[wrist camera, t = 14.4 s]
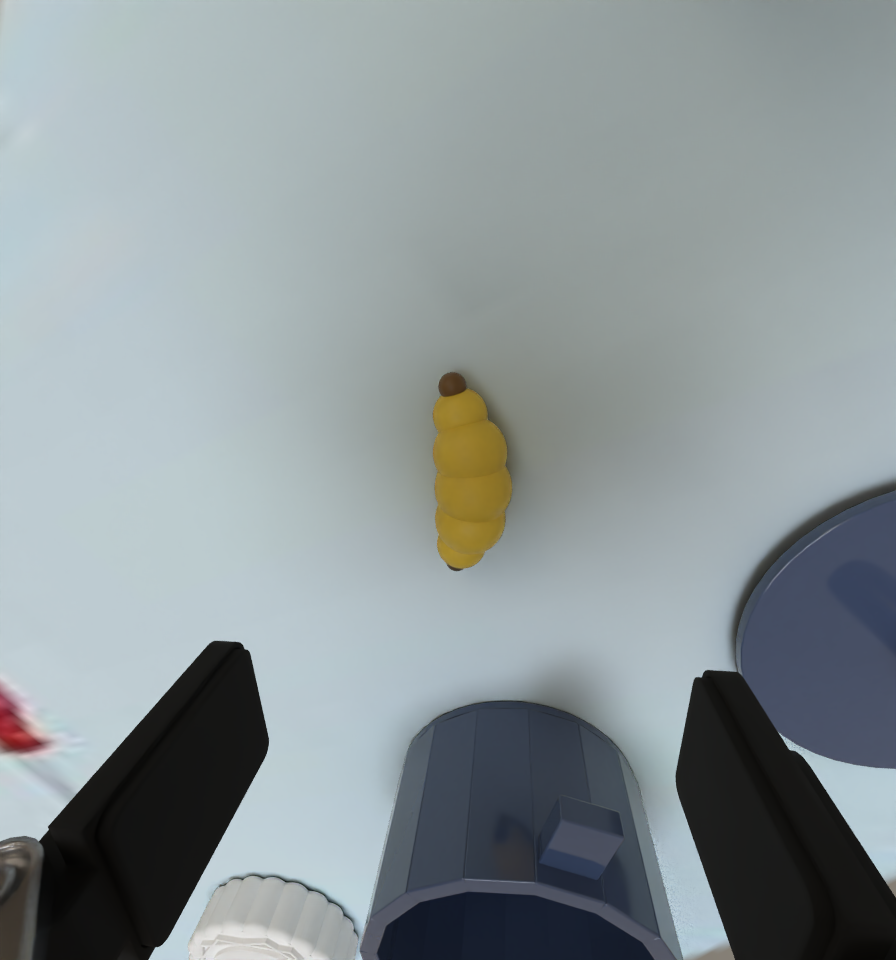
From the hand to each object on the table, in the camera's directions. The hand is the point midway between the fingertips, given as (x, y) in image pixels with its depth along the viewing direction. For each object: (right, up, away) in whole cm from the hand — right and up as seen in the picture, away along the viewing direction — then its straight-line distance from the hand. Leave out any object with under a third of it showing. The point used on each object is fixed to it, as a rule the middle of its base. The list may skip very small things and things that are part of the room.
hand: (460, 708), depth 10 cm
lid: (+20, -2, +11) cm, 23 cm away
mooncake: (-13, -29, +27) cm, 42 cm away
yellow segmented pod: (+1, +5, +11) cm, 12 cm away
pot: (+4, -13, +18) cm, 23 cm away
